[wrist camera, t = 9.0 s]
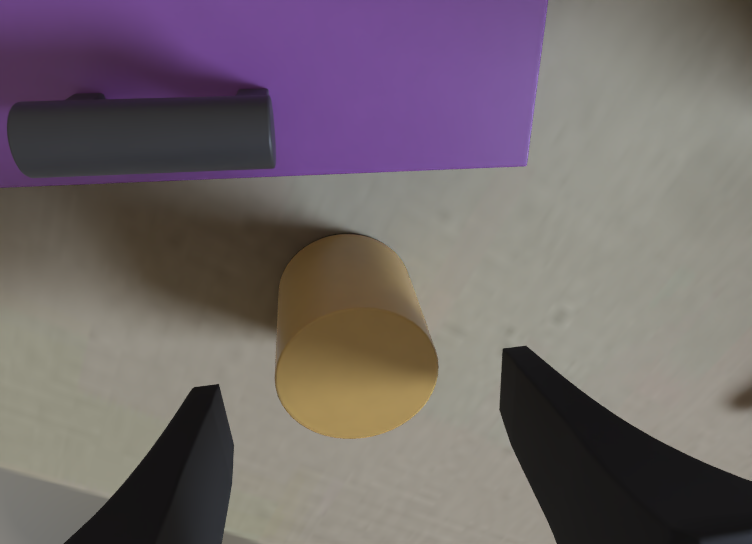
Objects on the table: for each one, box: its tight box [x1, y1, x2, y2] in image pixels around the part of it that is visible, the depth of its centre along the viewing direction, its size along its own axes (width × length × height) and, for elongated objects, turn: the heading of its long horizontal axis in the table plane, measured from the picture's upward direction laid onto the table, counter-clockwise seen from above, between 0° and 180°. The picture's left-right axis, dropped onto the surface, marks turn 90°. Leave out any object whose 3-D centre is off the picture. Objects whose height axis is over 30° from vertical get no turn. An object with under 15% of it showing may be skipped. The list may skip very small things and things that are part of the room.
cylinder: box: [275, 234, 438, 439], centre depth 18 cm, size 4×4×4 cm
